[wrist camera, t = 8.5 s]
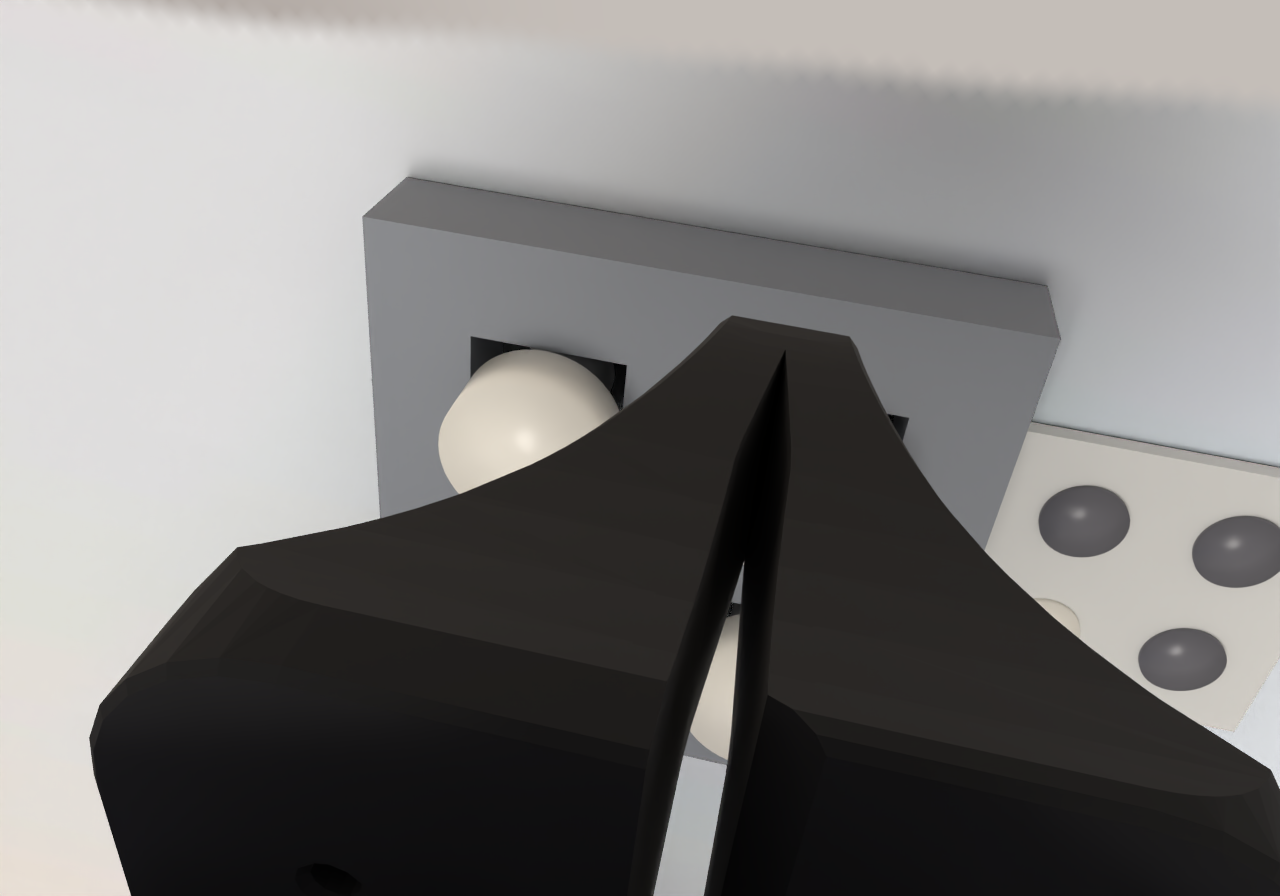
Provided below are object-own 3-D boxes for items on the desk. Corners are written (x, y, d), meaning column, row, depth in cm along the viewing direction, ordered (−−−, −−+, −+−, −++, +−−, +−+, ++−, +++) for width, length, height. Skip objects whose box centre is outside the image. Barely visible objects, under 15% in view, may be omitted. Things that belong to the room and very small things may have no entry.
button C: (653, 314, 23) (614, 403, 20) (638, 445, 25) (601, 546, 22) (498, 286, 23) (436, 370, 20) (495, 418, 25) (439, 513, 22)
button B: (859, 564, 25) (852, 677, 22) (831, 665, 27) (821, 783, 24) (716, 535, 25) (690, 643, 22) (698, 637, 27) (672, 749, 24)
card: (1371, 484, 22) (1381, 500, 21) (1230, 719, 25) (1235, 736, 25) (1016, 419, 22) (1019, 433, 22) (933, 656, 26) (934, 672, 26)
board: (1047, 285, 21) (1060, 338, 19) (894, 734, 28) (893, 803, 26) (406, 177, 22) (362, 216, 20) (421, 630, 30) (390, 688, 28)
